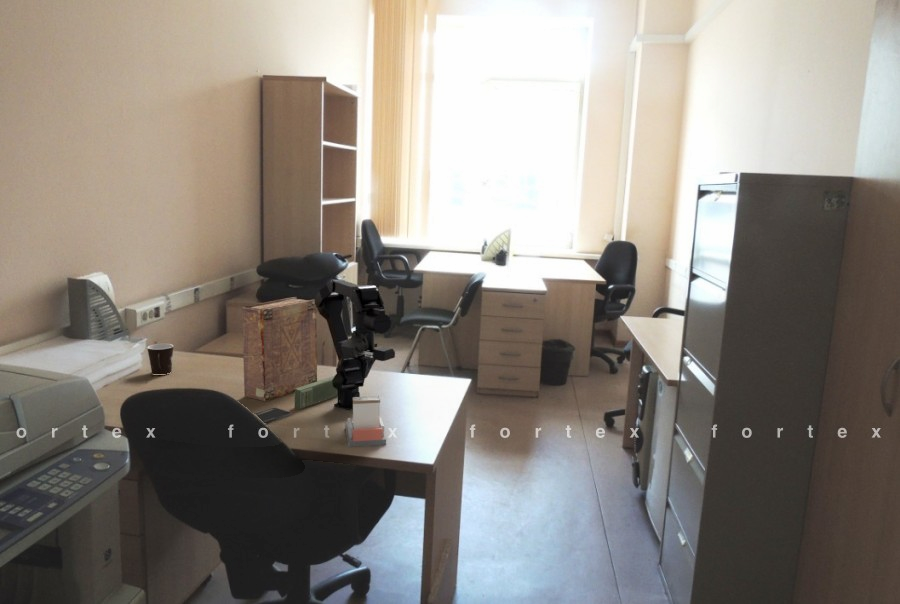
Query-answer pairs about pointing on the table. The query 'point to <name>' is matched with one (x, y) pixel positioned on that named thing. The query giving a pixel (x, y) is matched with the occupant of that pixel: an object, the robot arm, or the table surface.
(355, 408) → the white box
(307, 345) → the book
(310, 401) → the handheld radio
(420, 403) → the table surface
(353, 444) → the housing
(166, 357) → the coffee mug
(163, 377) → the table surface
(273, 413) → the phone
